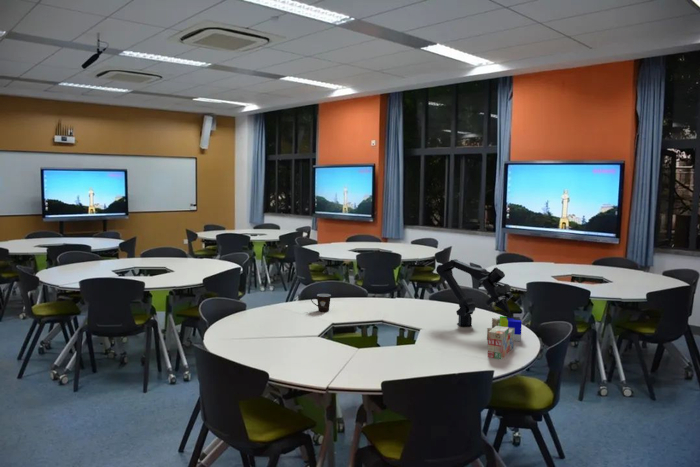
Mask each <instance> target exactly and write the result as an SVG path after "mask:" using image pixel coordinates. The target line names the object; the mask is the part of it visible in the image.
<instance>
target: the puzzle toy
mask: <svg viewBox="0 0 700 467" xmlns="http://www.w3.org/2000/svg"><path fill="white" fill-rule="evenodd" d="M499 318H500V325H499V326H502V327H509V329H513V342H515V341H517V342H521V341H522V324H523V323H522V322H523V321H522V319H521V318H520V316H508V315H507V316H505V315H499Z"/></svg>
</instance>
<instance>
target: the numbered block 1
mask: <svg viewBox="0 0 700 467" xmlns="http://www.w3.org/2000/svg"><path fill="white" fill-rule="evenodd" d="M499 325H500V317H492V318H491V328H494V327H495V326H499Z"/></svg>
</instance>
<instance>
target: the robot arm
mask: <svg viewBox="0 0 700 467" xmlns="http://www.w3.org/2000/svg"><path fill="white" fill-rule="evenodd" d="M453 269H456V270H460V271H462V272H465V273H466V274H468V275H470V276H471V278H473V279H474V280H476V281H479V282H478V287H479V288H480V287H483V288H484V290H486V292H487V293H486V295H487V296H489V298H488V299H487V300H486V301H485V305H486V307H487V308H488V307H491V306H492V304H493V303H494V306H493V307H496V308H497V309H500V310H502V311H504V312H505V313H508V314H509V313H510V312H511V311H510V307H509V305H508V301H509V300H510V299H511V298H512V297H514V295H513V293H512V292H511V288H512V287H511V285H510V284H508V283H506V284H504V285H503V286H501V287H500V286H497V285H496V284H498V283H499V282H501V281H502V280H503V279H504V278H505V276H506V275H505V274H506V273H504V271H503V270H501V269H499V268H498V267H496V266H495V267H494V268H493V269H492V270H491V271H488V270H487V269H486V268H484V267H483V268H482V267H475V266H473V265H469V264H468V263H465V262H463V261H460V260H459V259H456V258H455V259H450V260H449V261H447V262H444V263H442V264H438V265H437V266H436V270H435V271H436V273H437V274H438V275H439V277H440V278H442V279H443V280H445V282H446V284H447V285H448V287H449V288H450V290H451V291H452V293H453V294H454V296H455V297H456V299H457V301H458V307H459V308H458V309H457V310H456V315H457V316H458V318H457V319H458V322H457V323H456V324H457V325H458V326H459V327H462V328H463V327H464V328H465V327H466V328H467V327H473V325H472V322H473V317H472V315H473V313H474V312H475V311H476V306H477V305H476V303H475V301H474V300H473V297H471V296H470V297H468V296H467V295H466V294H465V293H464V291H463V290H462V288H461V286H460V284H458V282H457V280H456V279H455V277H454V274H453ZM481 280H482V281H481Z"/></svg>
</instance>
